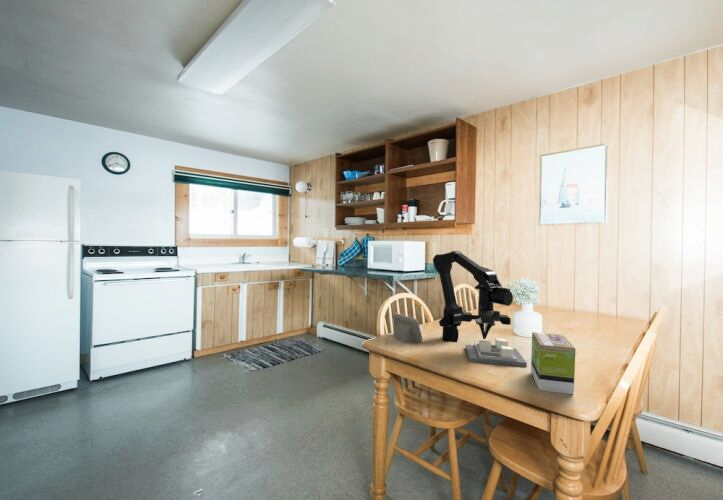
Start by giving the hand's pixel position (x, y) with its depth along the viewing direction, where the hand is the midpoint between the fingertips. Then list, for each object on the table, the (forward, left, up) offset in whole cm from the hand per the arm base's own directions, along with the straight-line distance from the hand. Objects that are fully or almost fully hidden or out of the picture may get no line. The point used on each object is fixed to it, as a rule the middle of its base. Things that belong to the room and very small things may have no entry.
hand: (484, 338), depth 144 cm
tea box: (+17, -27, -6) cm, 32 cm away
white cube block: (0, -6, -4) cm, 7 cm away
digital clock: (-32, +9, -6) cm, 34 cm away
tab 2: (+7, -1, -4) cm, 7 cm away
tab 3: (+7, -11, -4) cm, 13 cm away
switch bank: (+3, -6, -5) cm, 8 cm away
